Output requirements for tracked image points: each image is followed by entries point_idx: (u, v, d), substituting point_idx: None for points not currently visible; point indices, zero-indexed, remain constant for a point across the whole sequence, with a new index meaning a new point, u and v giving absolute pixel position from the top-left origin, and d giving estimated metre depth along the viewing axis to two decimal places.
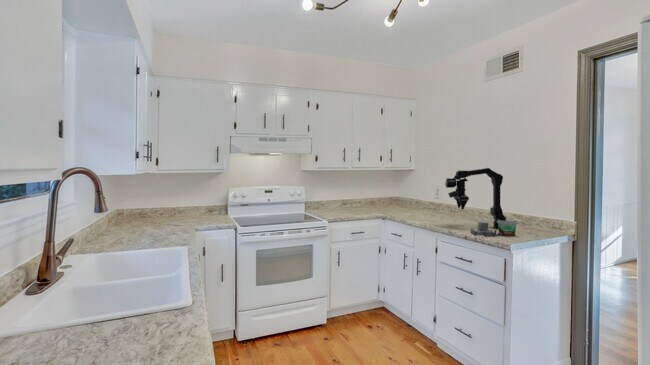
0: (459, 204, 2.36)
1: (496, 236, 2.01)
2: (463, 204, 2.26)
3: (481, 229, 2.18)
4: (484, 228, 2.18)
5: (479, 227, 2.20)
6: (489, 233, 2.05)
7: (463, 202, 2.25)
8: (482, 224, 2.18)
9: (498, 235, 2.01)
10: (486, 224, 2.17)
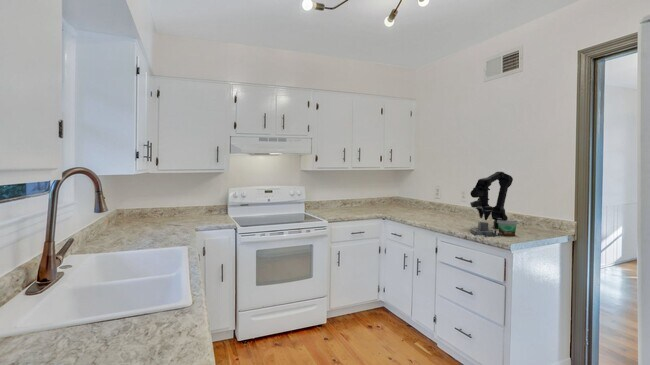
0: (481, 214, 2.24)
1: (496, 236, 2.01)
2: (487, 215, 2.14)
3: (481, 229, 2.18)
4: (484, 228, 2.18)
5: (479, 227, 2.20)
6: (489, 233, 2.05)
7: (487, 213, 2.14)
8: (482, 224, 2.18)
9: (498, 235, 2.01)
10: (486, 224, 2.17)
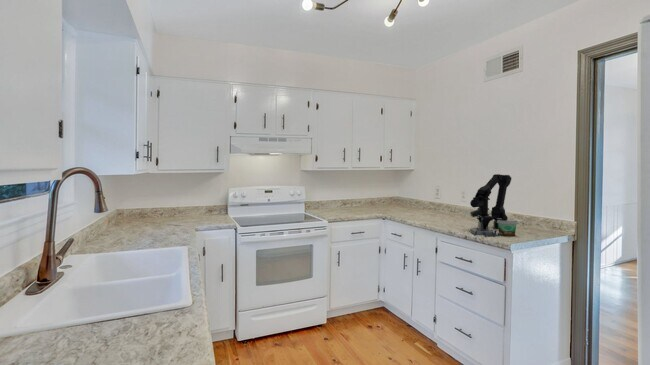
0: None
1: (496, 236, 2.01)
2: (485, 224, 2.16)
3: (481, 229, 2.18)
4: None
5: (479, 227, 2.20)
6: (489, 233, 2.05)
7: (485, 222, 2.16)
8: (482, 224, 2.18)
9: (498, 235, 2.01)
10: None
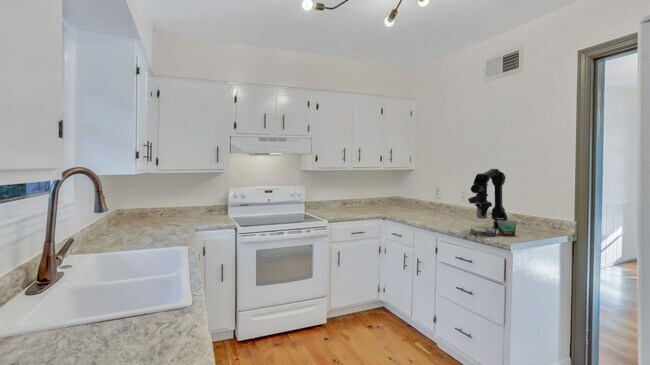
0: None
1: (496, 236, 2.01)
2: (484, 211, 2.06)
3: (479, 216, 2.08)
4: None
5: (477, 214, 2.10)
6: (489, 233, 2.05)
7: (484, 208, 2.06)
8: (480, 211, 2.08)
9: (498, 235, 2.01)
10: None
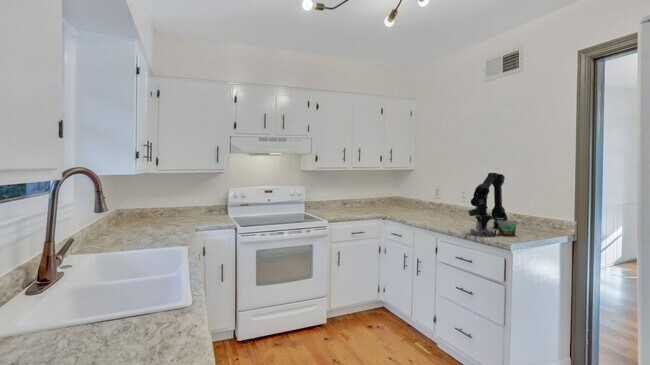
0: None
1: (496, 236, 2.01)
2: (484, 223, 2.06)
3: (479, 228, 2.08)
4: None
5: (477, 226, 2.10)
6: (489, 233, 2.05)
7: (484, 221, 2.06)
8: (480, 223, 2.08)
9: (498, 235, 2.01)
10: None
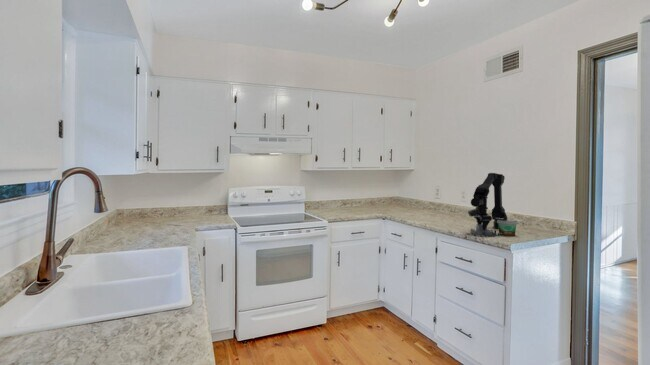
0: (479, 223, 2.15)
1: (496, 236, 2.01)
2: (485, 224, 2.05)
3: None
4: None
5: (477, 230, 2.11)
6: (489, 233, 2.05)
7: (485, 222, 2.04)
8: (480, 227, 2.08)
9: (498, 235, 2.01)
10: None
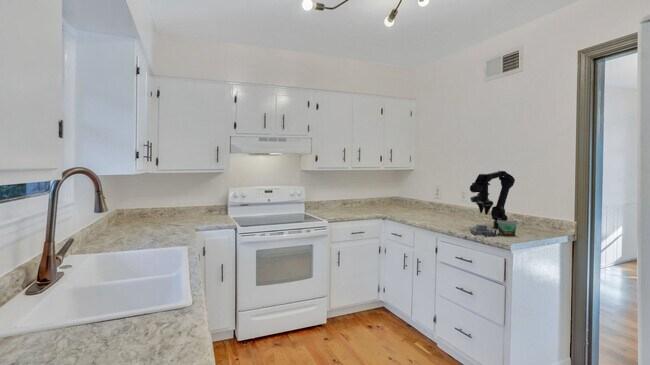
0: (481, 209, 2.26)
1: (496, 236, 2.01)
2: (487, 209, 2.16)
3: None
4: None
5: (477, 230, 2.11)
6: (489, 233, 2.05)
7: (487, 207, 2.16)
8: (480, 227, 2.08)
9: (498, 235, 2.01)
10: (485, 227, 2.08)
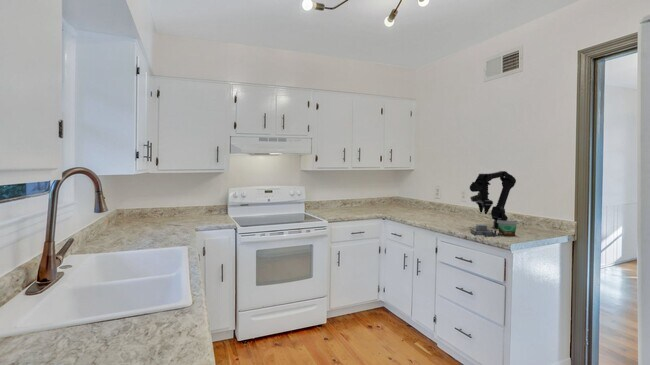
0: (481, 208, 2.27)
1: (496, 236, 2.01)
2: (486, 209, 2.17)
3: None
4: None
5: (477, 230, 2.11)
6: (489, 233, 2.05)
7: (486, 207, 2.16)
8: (480, 227, 2.08)
9: (498, 235, 2.01)
10: (485, 227, 2.08)
